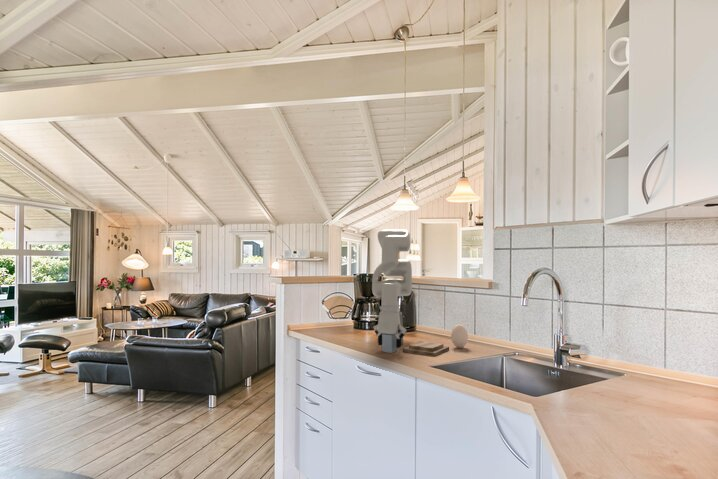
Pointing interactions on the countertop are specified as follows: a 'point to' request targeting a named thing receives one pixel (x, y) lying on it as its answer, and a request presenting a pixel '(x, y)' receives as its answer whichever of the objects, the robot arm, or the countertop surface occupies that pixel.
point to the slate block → (389, 343)
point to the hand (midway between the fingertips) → (389, 346)
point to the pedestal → (426, 348)
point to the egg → (459, 336)
